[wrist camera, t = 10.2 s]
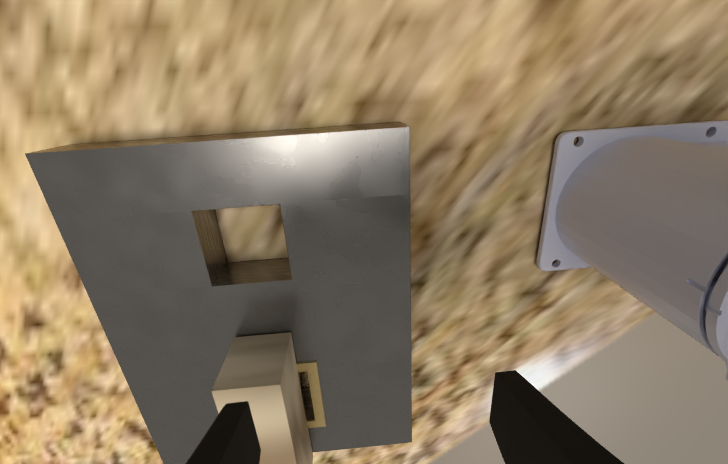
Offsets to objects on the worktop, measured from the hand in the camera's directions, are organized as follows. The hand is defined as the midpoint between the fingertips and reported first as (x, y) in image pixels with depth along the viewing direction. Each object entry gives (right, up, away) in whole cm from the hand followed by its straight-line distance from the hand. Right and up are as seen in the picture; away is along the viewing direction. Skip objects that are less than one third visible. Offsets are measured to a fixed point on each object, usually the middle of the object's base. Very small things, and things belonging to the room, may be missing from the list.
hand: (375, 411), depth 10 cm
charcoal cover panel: (-6, +1, +11) cm, 12 cm away
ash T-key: (-6, -4, +12) cm, 14 cm away
